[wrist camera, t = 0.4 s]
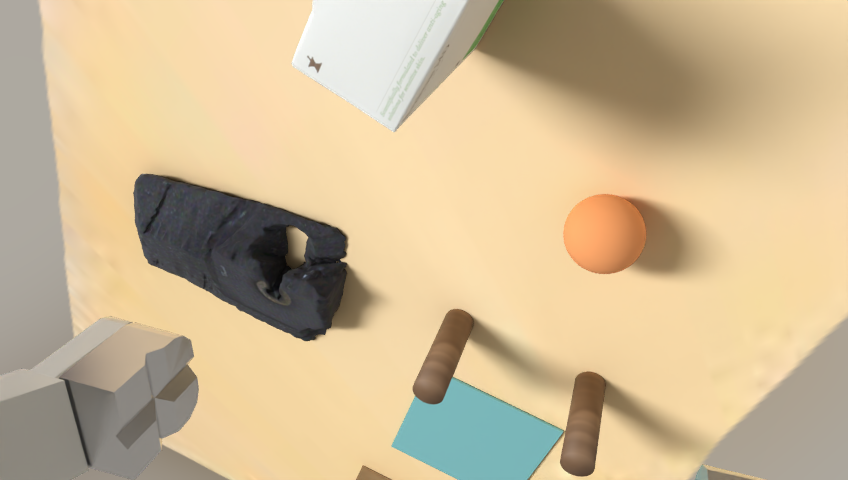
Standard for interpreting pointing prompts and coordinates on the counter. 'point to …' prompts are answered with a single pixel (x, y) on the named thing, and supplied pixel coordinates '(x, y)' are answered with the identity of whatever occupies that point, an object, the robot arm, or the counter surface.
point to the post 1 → (443, 357)
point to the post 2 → (583, 425)
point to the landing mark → (475, 436)
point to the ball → (604, 234)
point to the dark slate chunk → (242, 253)
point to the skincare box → (389, 49)
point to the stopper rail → (370, 475)
